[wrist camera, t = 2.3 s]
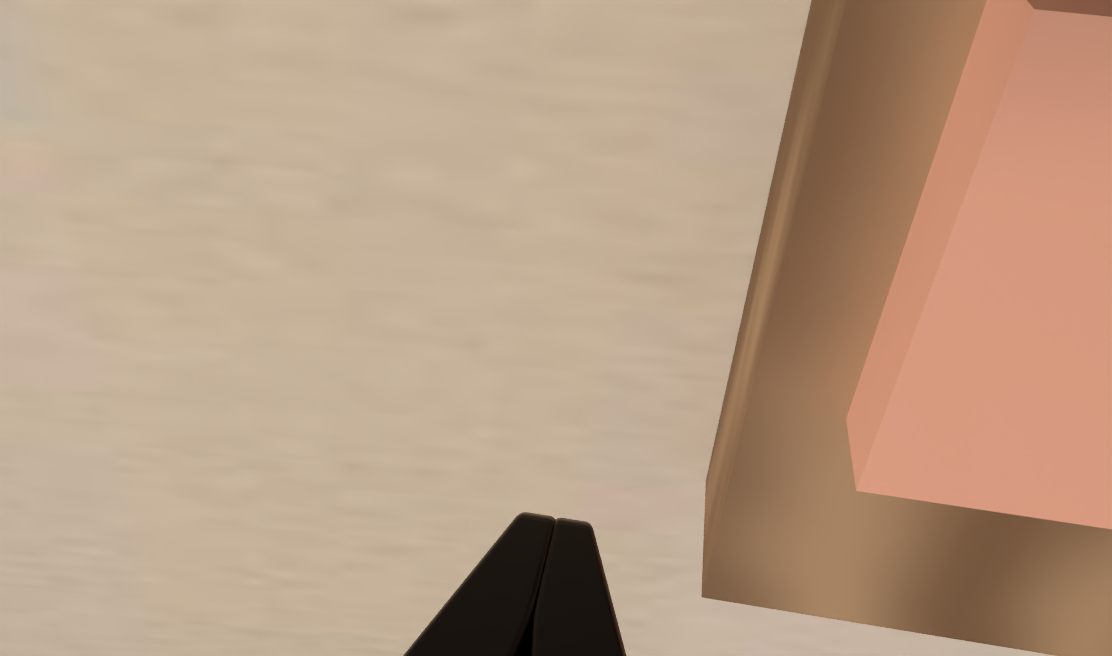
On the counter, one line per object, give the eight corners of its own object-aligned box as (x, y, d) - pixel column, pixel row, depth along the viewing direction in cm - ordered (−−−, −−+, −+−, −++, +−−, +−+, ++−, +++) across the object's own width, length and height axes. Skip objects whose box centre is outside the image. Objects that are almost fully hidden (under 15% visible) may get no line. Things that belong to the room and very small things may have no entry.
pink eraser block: (1443, 7, 13) (1545, 59, 11) (1151, 463, 18) (1191, 541, 16) (998, -35, 13) (1033, 8, 12) (846, 419, 19) (856, 491, 17)
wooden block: (1924, -579, 11) (2376, -665, 8) (1145, 548, 25) (1205, 679, 22) (946, -613, 13) (1017, -702, 9) (705, 481, 26) (701, 596, 23)
